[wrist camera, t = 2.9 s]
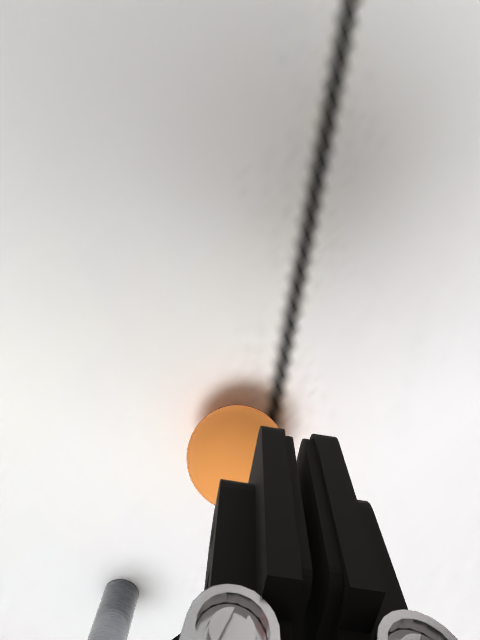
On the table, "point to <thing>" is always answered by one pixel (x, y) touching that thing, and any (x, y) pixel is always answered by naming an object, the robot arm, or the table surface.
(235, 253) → the table surface
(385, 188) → the table surface
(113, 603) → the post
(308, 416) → the table surface
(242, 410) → the ball
